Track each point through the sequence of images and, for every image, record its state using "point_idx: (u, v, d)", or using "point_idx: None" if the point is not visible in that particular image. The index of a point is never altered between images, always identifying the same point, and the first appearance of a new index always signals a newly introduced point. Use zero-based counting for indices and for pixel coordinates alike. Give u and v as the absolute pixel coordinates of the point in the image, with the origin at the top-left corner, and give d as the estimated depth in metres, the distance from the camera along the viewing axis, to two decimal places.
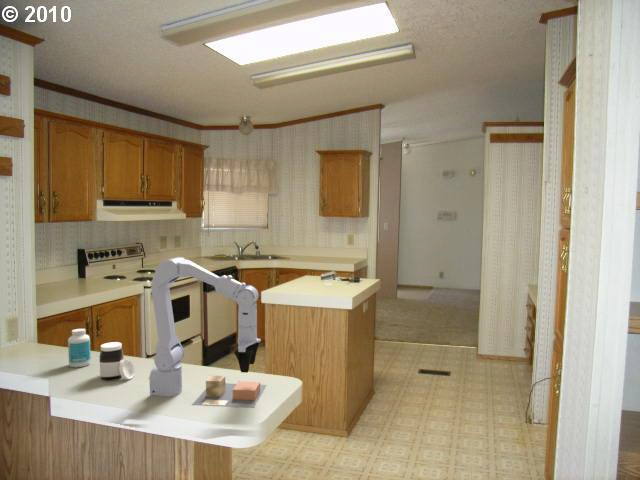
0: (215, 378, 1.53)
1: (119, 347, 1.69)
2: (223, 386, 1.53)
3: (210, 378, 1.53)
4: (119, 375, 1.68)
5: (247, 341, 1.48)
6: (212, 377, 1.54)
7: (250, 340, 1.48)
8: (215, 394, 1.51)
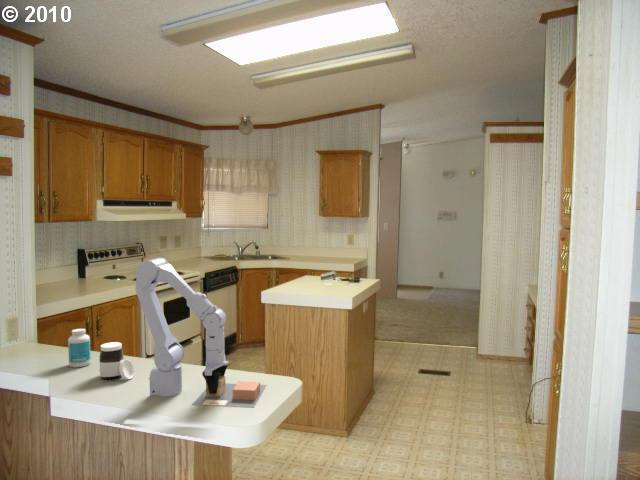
0: None
1: (119, 347, 1.69)
2: (223, 386, 1.53)
3: None
4: (119, 375, 1.68)
5: (214, 364, 1.50)
6: None
7: (217, 363, 1.50)
8: (215, 394, 1.51)
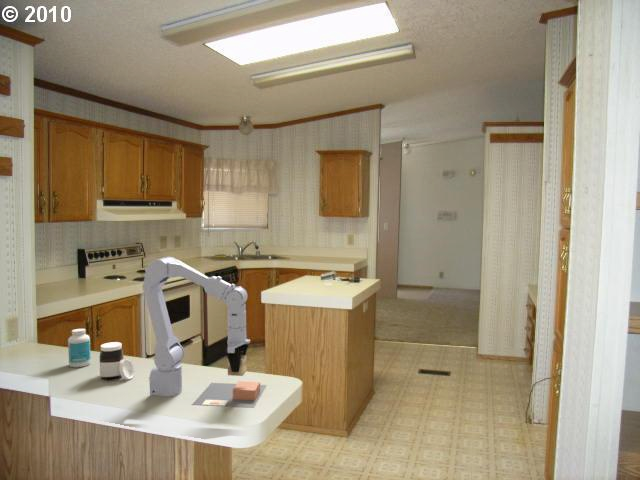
0: None
1: (119, 347, 1.69)
2: (245, 365, 1.52)
3: None
4: (119, 375, 1.68)
5: (236, 342, 1.48)
6: None
7: (239, 341, 1.49)
8: (237, 373, 1.50)
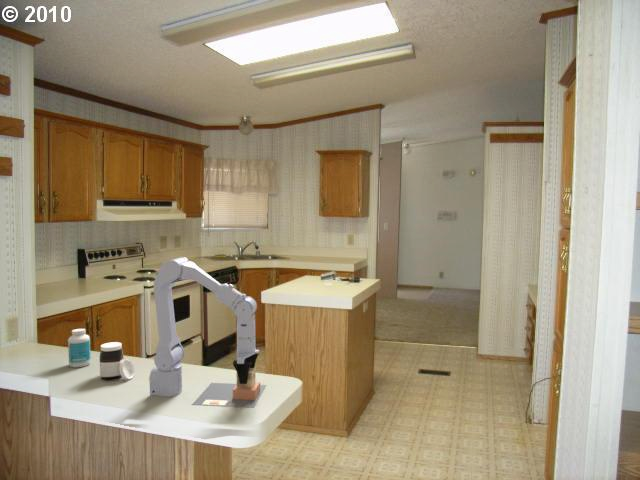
0: None
1: (119, 347, 1.69)
2: (253, 378, 1.52)
3: None
4: (119, 375, 1.68)
5: (246, 352, 1.48)
6: None
7: (249, 351, 1.49)
8: (246, 386, 1.50)
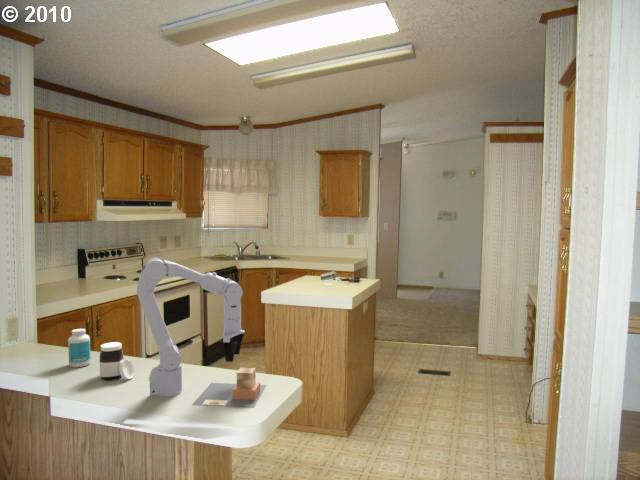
0: (245, 370, 1.52)
1: (119, 347, 1.69)
2: (253, 378, 1.52)
3: (240, 370, 1.52)
4: (119, 375, 1.68)
5: (232, 332, 1.58)
6: (242, 369, 1.52)
7: (234, 331, 1.58)
8: (246, 386, 1.50)
